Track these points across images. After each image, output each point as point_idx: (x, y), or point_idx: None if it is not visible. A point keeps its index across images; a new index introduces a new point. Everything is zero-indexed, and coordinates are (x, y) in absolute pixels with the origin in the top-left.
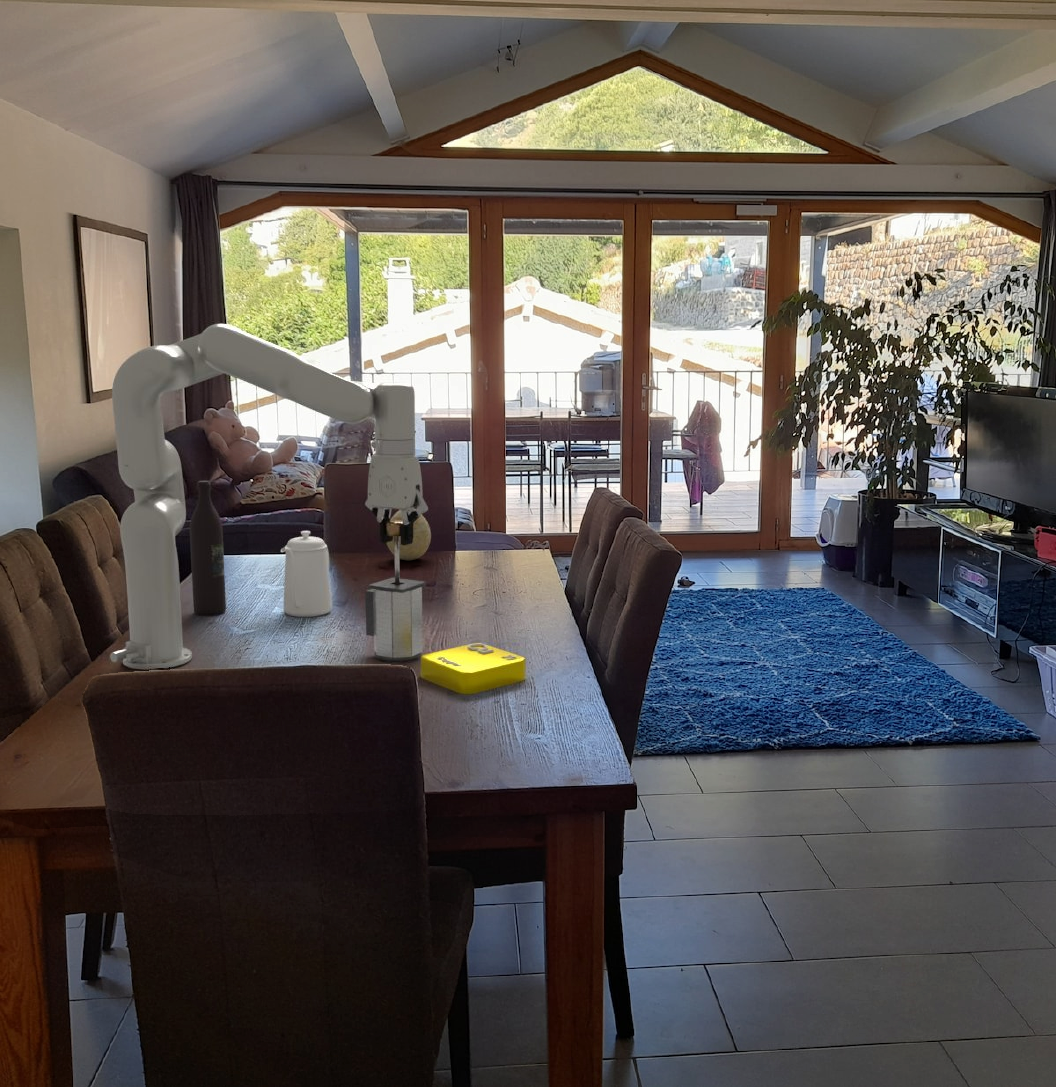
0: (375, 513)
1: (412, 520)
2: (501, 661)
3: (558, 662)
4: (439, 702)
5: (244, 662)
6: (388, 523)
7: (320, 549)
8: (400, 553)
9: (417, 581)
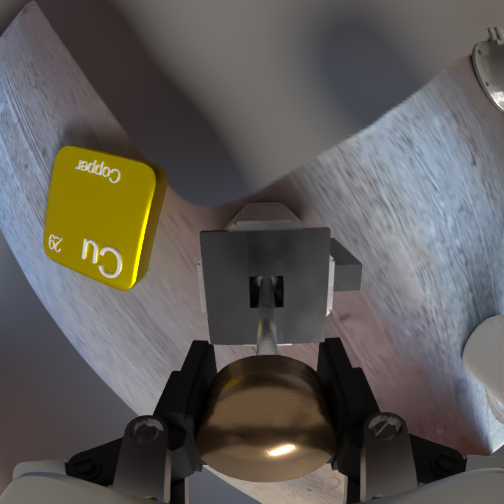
0: (433, 452)
1: (113, 443)
2: (52, 221)
3: (76, 323)
4: (87, 103)
5: (437, 100)
6: (285, 409)
7: None
8: None
9: (233, 338)
